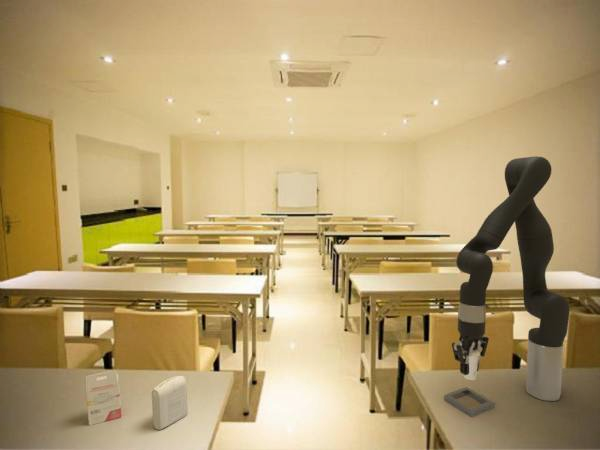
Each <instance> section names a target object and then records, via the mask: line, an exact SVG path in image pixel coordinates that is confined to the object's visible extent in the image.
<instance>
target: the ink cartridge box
mask: <svg viewBox="0 0 600 450" xmlns="http://www.w3.org/2000/svg"><path fill="white" fill-rule="evenodd" d="M84 389H85V396H86V399H85V400H86V408H87V409H86V411H87V419H88V421H89V422H88V425H89V426H92V425H96V424H100V423H104V422H107V421H112V420H116V419H120V418H122V403H121V401H122V400H121V392H120V391H121V390H120V381H119V373H118V372H117V370H115V369H114V370H109V371H105V372H99V373H95V374H90V375H86V376H85V388H84ZM103 418H104V419H103ZM98 419H100V420H98ZM95 420H96V421H95ZM90 421H92V422H90Z"/></svg>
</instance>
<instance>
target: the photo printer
mask: <svg viewBox="0 0 600 450" xmlns="http://www.w3.org/2000/svg"><path fill="white" fill-rule="evenodd" d="M151 401H152V402H151V403H152V404H151V407H152V424H153V427H154V429H155V430H157V431H158V430H163V429H165V428H167V427H168V426H170V425H172V424H173V423H176V422H177V421H179V420H180V419H182V418H184V417H185V416H187V415H188V413H189V412H188V411H189V409H188V387H187V380H186V377H185V376H182V375H176V376H172V377H169V378H167V379H166V380H164V381H162V382H160V383H159V384H157V385H156V386H155V387H154V388H152V390H151Z"/></svg>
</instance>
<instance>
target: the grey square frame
mask: <svg viewBox="0 0 600 450" xmlns="http://www.w3.org/2000/svg"><path fill="white" fill-rule="evenodd" d="M466 395H467V396H469V397H470V398H473V399H475V400H477V401H479V402H480V403H481V404H478V405H477V406H474V407H470V406H467V405H466V404H464V403H462V402H461V401H460V400H458V398H461V397H463V396H466ZM443 399H444V401H446V402H447V403H449V404H451V405H452V406H454V407H455V408H457V409H458V410H460V411H462V412H463V413H465V414H466V415H468V416H470V417H471V418H472V417H475V416H477V415H480V414H481V413H485V412H487V411H488V410H491V409H493V408H495V401H492V400H491V399H489V398H487V397H486V396H483V394H480V393H478V392H476V391H475V390H473V389H471V388H469V387H467V386H464V387H463V388H460V389H456V390H455V391H452V392H449V393H446V394H444V395H443Z"/></svg>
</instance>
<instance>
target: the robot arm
mask: <svg viewBox="0 0 600 450" xmlns="http://www.w3.org/2000/svg"><path fill="white" fill-rule="evenodd" d="M552 169H553V168H552V165H551V163H550V161H549V160H548V159H547V158H545V157H543V156H539V155H538V156H535V155H534V156H528V157H527V156H525V157H519V158H514V159H511V160H510V161H508V162H507V164H506V165H505V169H504V181H505V185H506V188H507V193H508V197H506V199H504V201H502V202H501V203H500V204H498V206H496V207H495V208H494V209H493V210H492V211H491V212H490V213H489V214H488V215H487V217H486V218H485V219H484V221H483V223H482V224H481V226H480V228H479V229H478V231H477V233H476V235H475V236H474V237H473V238H471V239H470V240H469V241H468V242H467V243H466V244H465V245H464V247H462V248H461V250H460V251H459V253H458V255H457V257H456V267H457V268H458V270H459V271H461V272H462V273H465V274H467V275H469V279H468V281H464V282H463V283H461V285H460V287H459V288H460V289H459V304H458V308H457V309H458V311H457V331H458V333H459V338H458V341H457V342H456V343H455V342H452V344H451V347H452V352H453V357H454V360H455V361H457V362H459V364H460V365H459V371H460V374H462V375H463V376H464V375H468V365H469V363H468V361H469V356H471V354H472V350H476V349H477V351H478V352H479V353H480V355H479V361H478V367H477V372H479V369H480V360H481V359H482V357H485V355H486V352H487V347H488V345H489V340H490V338H489V337H487V336H485V335H486V323H487V320H486V319H487V317H486V316H487V308H486V302H487V301H486V300H487V299H486V298H487V289H488V286H489V284H490V280H491V277H492V274H493V272H494V271H493V270H494V263H493V260H492V258H491V257H490V256H489V255H488V254H486V253H487V252H489V251H493V250H497V249H499V248H500V246H501V244H502V242H504V240H505V238H506V236H507V235H508V233H509V231H510V230H511V228H512V226H513V225H515V229H516V230H515V232H516V240H517V246H518V252H519V257H520V265H521V273H522V288H523V289H522V291H523V292H522V294H523V295H522V296H523V305H524V308H525V310H526V312H527V313H529V314H530V315H531V316H533V317H534V318H537V319H539V326H538V327H532V328H530V329H529V330H528V335H527V336H528V337H527V339H528V340H527V354H526V355H527V357H526V375H525V378H526V379H525V391H526V392H527V394H529V395H530V396H531V397H534V398H535V399H539V400H542V401H545V402H555V401H558V400H560V399H561V393H562V380H563V379H562V378H563V377H562V376H563V355H564V354H563V353H564V352H563V350H564V341H565V339H566V337H567V333H568V325H569V320H570V303H569V301H568V299H567V298H566V297H565V296H563V295H561V294H558V293H555V292H552V291H550V290H549V289H548V286H547V281H546V270H547V268H548V266H549V264H550V261H551V260H552V257H553V255H554V250H555V247H554V238H553V232H552V228H551V225H550V224H549V221H548V220H547V219H546V217H545V216H544V214H543V213H542V211H541V210H540V209H539V207H538V205H537V204H536V201H535V197H536V196H537V195H538V194H539V192H540V191H542V189H543V188H544V187H545V186H546V184H547V183H548V182H549V180H550V178H551V176H552ZM464 350H466V351H468V353H467V352H465V351H464ZM464 355H465V358H464Z"/></svg>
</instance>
